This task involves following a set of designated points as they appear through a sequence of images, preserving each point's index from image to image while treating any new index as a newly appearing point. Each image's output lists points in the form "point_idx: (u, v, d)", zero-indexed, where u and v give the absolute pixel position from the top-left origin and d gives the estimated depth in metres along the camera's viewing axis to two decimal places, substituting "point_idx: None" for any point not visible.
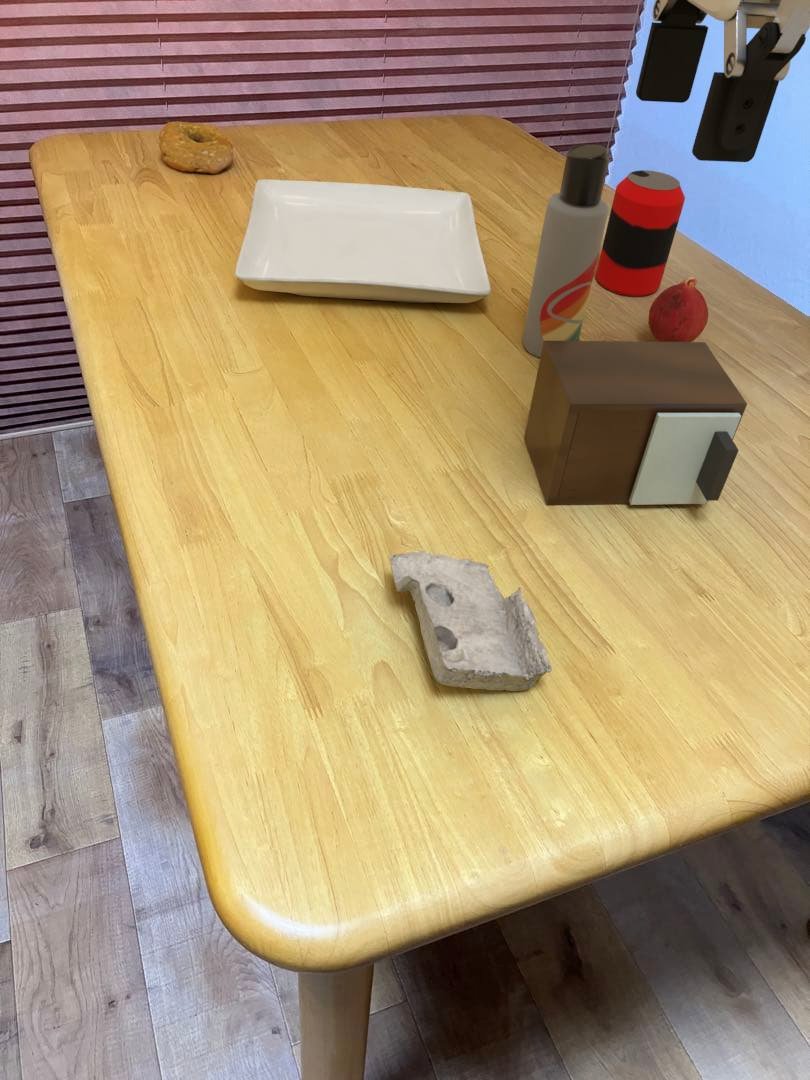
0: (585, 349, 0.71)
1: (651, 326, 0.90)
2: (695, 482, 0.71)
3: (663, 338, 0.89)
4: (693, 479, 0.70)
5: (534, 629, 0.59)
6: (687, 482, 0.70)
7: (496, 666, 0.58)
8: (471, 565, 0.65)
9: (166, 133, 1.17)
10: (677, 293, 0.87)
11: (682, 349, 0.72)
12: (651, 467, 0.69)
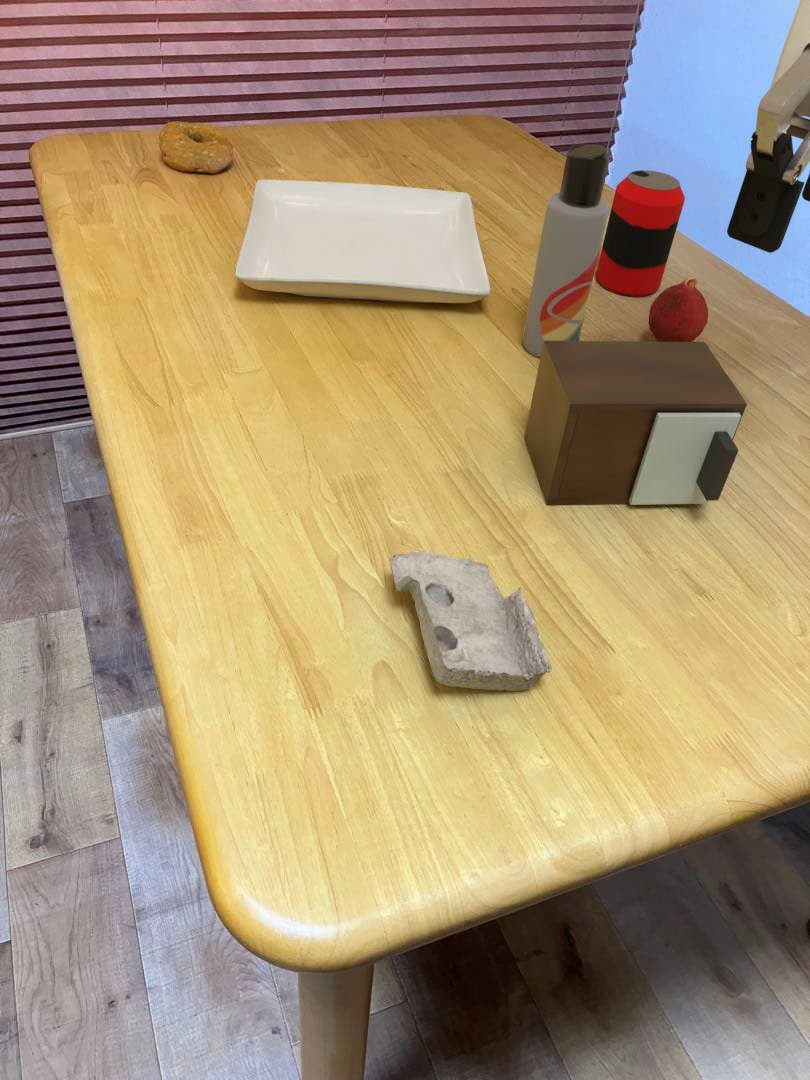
0: (585, 349, 0.71)
1: (651, 326, 0.90)
2: (695, 482, 0.71)
3: (663, 338, 0.89)
4: (693, 479, 0.70)
5: (534, 629, 0.59)
6: (687, 482, 0.70)
7: (496, 666, 0.58)
8: (471, 565, 0.65)
9: (166, 133, 1.17)
10: (677, 293, 0.87)
11: (682, 349, 0.72)
12: (651, 467, 0.69)
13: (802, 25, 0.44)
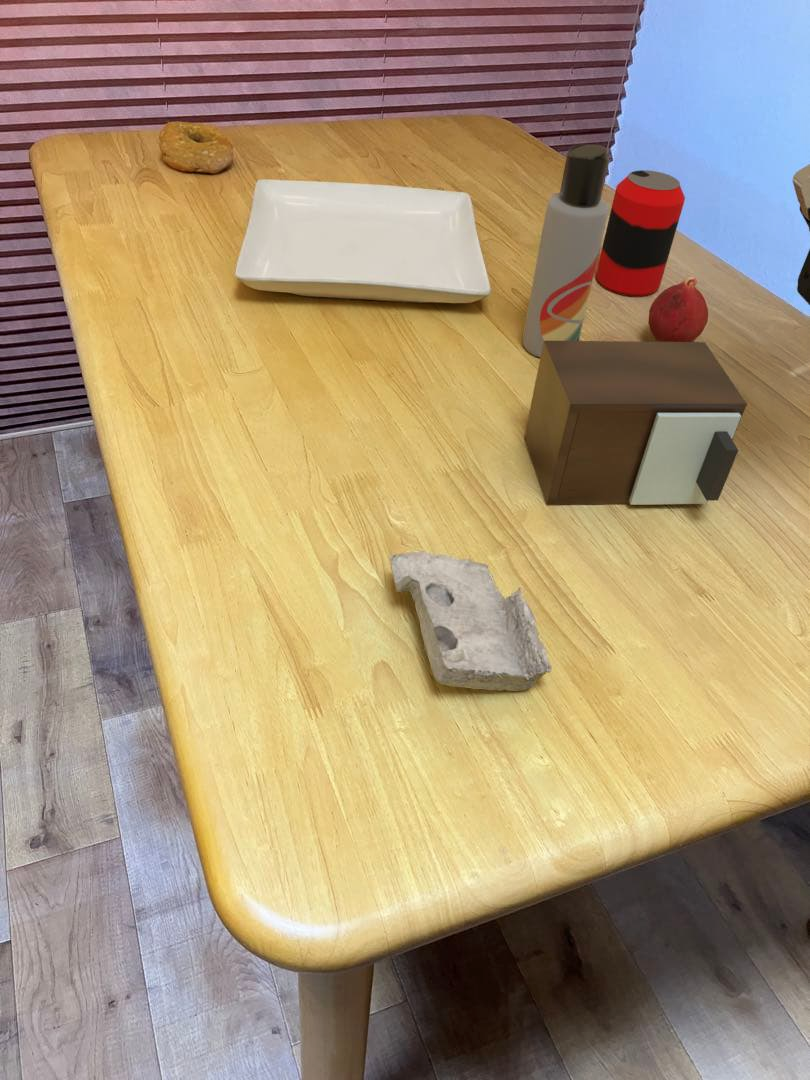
0: (585, 349, 0.71)
1: (651, 326, 0.90)
2: (695, 482, 0.71)
3: (663, 338, 0.89)
4: (693, 479, 0.70)
5: (533, 629, 0.59)
6: (687, 482, 0.70)
7: (496, 666, 0.58)
8: (471, 565, 0.65)
9: (166, 133, 1.17)
10: (677, 293, 0.87)
11: (682, 349, 0.72)
12: (651, 467, 0.69)
13: None
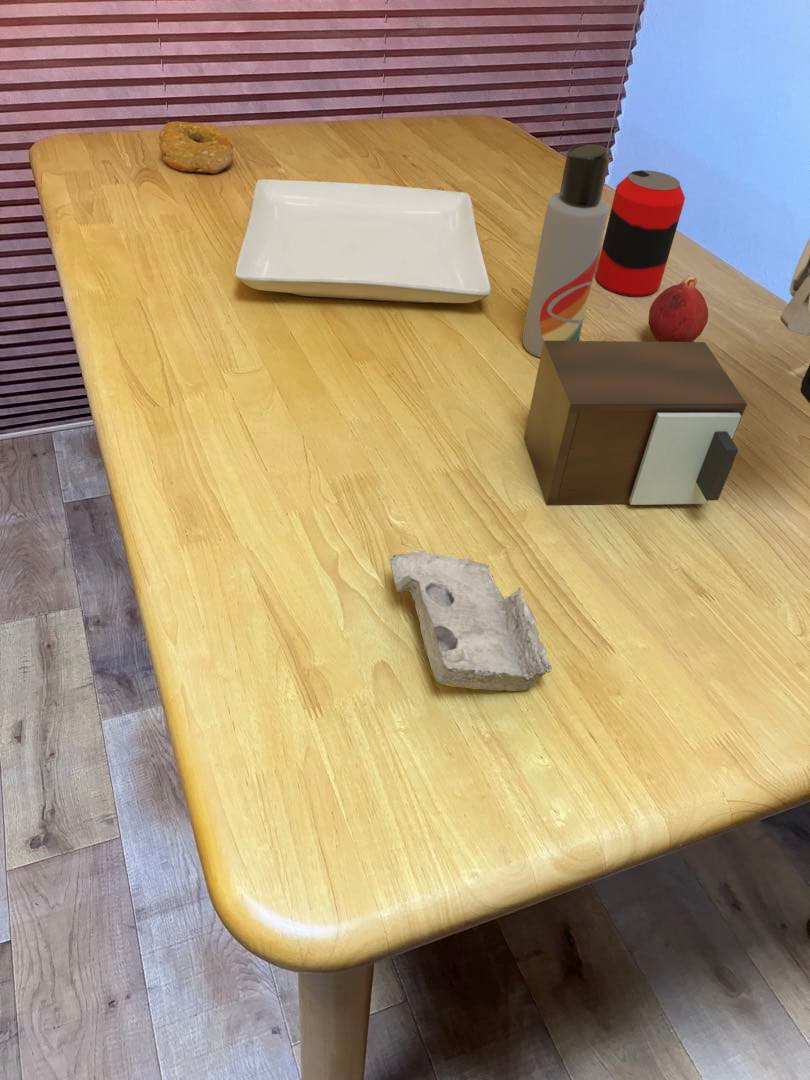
0: (585, 349, 0.71)
1: (651, 326, 0.90)
2: (695, 482, 0.71)
3: (663, 338, 0.89)
4: (693, 479, 0.70)
5: (533, 629, 0.59)
6: (687, 482, 0.70)
7: (496, 666, 0.58)
8: (471, 565, 0.65)
9: (166, 133, 1.17)
10: (677, 293, 0.87)
11: (682, 349, 0.72)
12: (651, 467, 0.69)
13: None
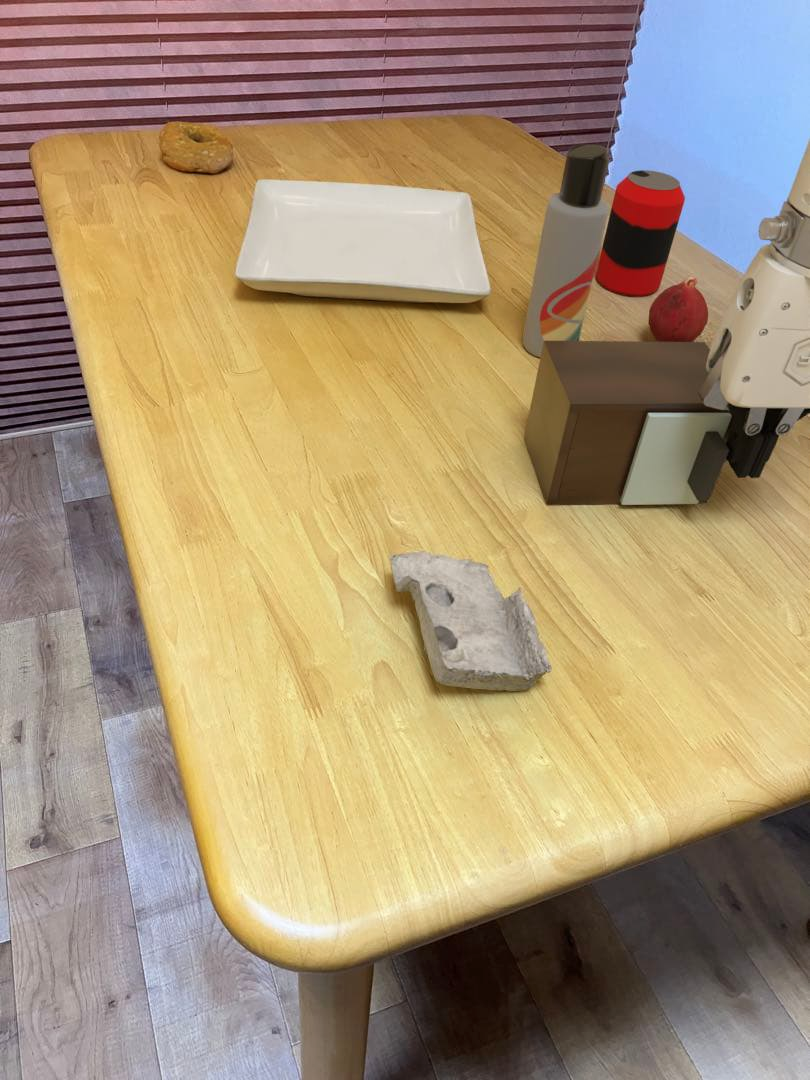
0: (585, 349, 0.71)
1: (651, 326, 0.90)
2: (686, 482, 0.70)
3: (663, 338, 0.89)
4: (684, 479, 0.70)
5: (533, 629, 0.59)
6: (678, 482, 0.70)
7: (496, 666, 0.58)
8: (471, 565, 0.65)
9: (166, 133, 1.17)
10: (677, 293, 0.87)
11: (682, 349, 0.72)
12: (642, 467, 0.69)
13: (726, 314, 0.60)
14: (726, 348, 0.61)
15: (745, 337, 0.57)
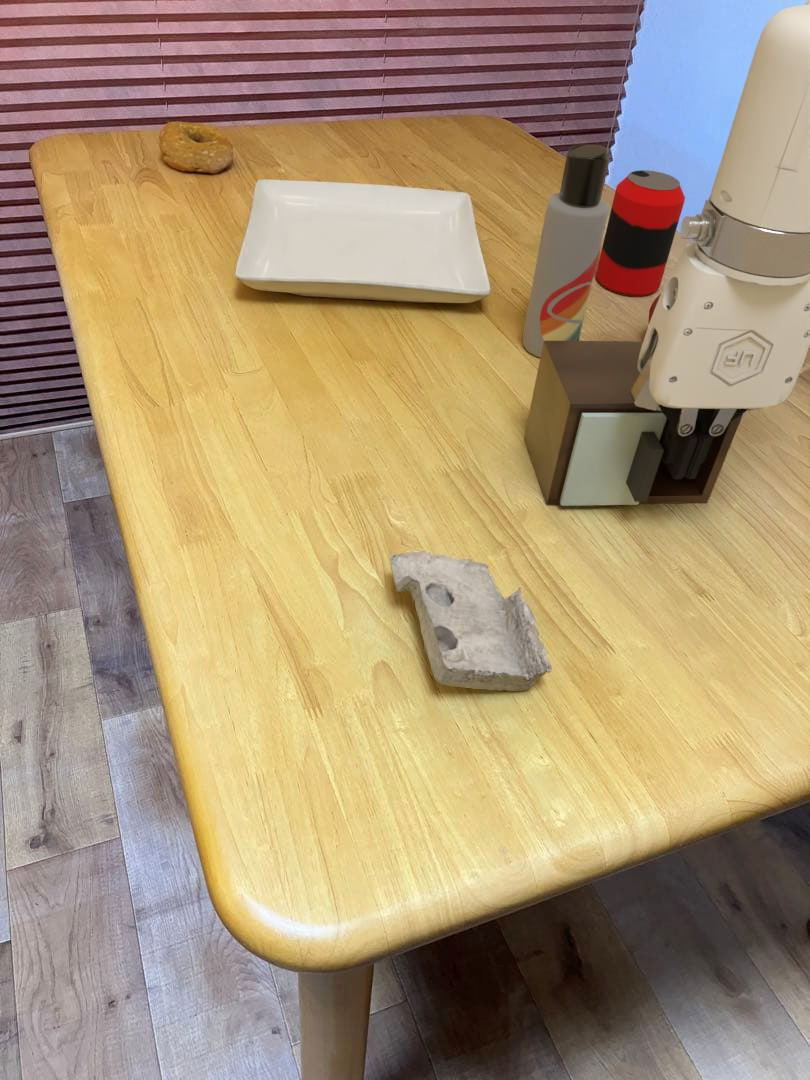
0: (585, 349, 0.71)
1: None
2: (625, 483, 0.70)
3: None
4: (623, 480, 0.70)
5: (533, 629, 0.59)
6: (617, 483, 0.70)
7: (496, 666, 0.58)
8: (471, 565, 0.65)
9: (166, 133, 1.17)
10: None
11: None
12: (579, 468, 0.68)
13: (654, 314, 0.59)
14: (655, 348, 0.60)
15: (670, 337, 0.57)
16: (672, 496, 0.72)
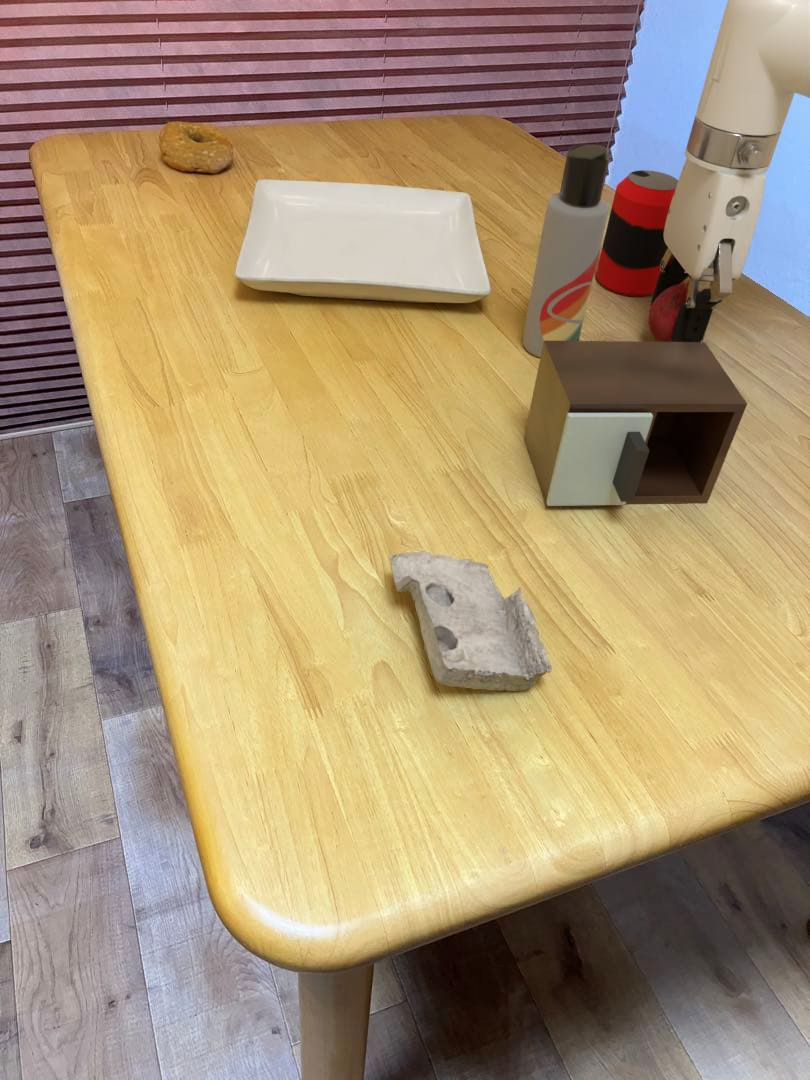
0: (585, 349, 0.71)
1: (651, 326, 0.90)
2: (612, 483, 0.70)
3: (663, 338, 0.89)
4: (609, 480, 0.69)
5: (533, 629, 0.59)
6: (603, 483, 0.70)
7: (496, 666, 0.58)
8: (471, 565, 0.65)
9: (166, 133, 1.17)
10: (677, 293, 0.87)
11: (682, 349, 0.72)
12: (565, 468, 0.68)
13: (716, 232, 0.79)
14: None
15: (750, 231, 0.79)
16: (672, 496, 0.72)
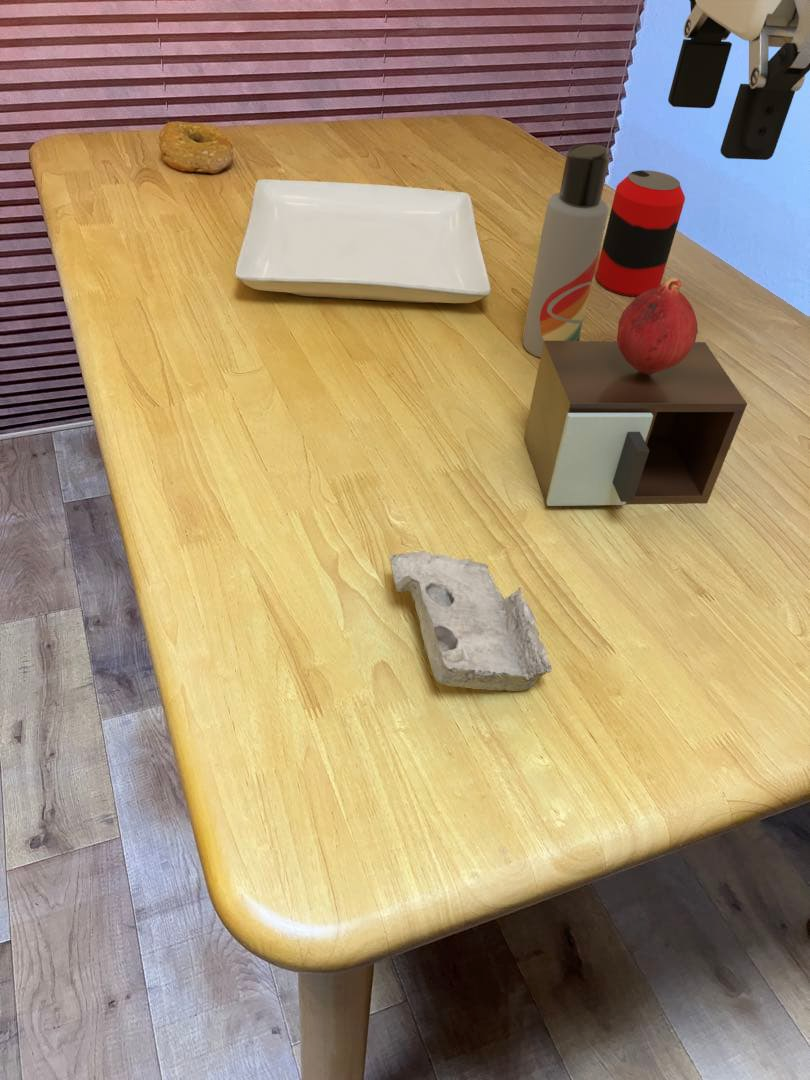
0: (585, 349, 0.71)
1: (620, 344, 0.66)
2: (612, 483, 0.70)
3: (636, 361, 0.66)
4: (609, 480, 0.69)
5: (533, 629, 0.59)
6: (603, 483, 0.70)
7: (496, 666, 0.58)
8: (471, 565, 0.65)
9: (166, 133, 1.17)
10: (655, 300, 0.64)
11: None
12: (565, 468, 0.68)
13: None
14: None
15: None
16: (672, 496, 0.72)
